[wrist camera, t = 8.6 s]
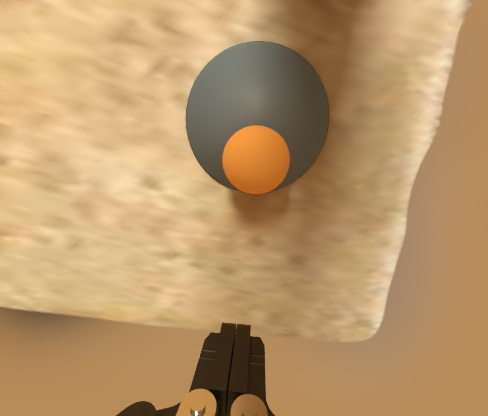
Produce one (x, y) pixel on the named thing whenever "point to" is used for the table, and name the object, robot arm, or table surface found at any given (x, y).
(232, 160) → the ball
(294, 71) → the dark grey flat disc
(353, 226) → the table surface
